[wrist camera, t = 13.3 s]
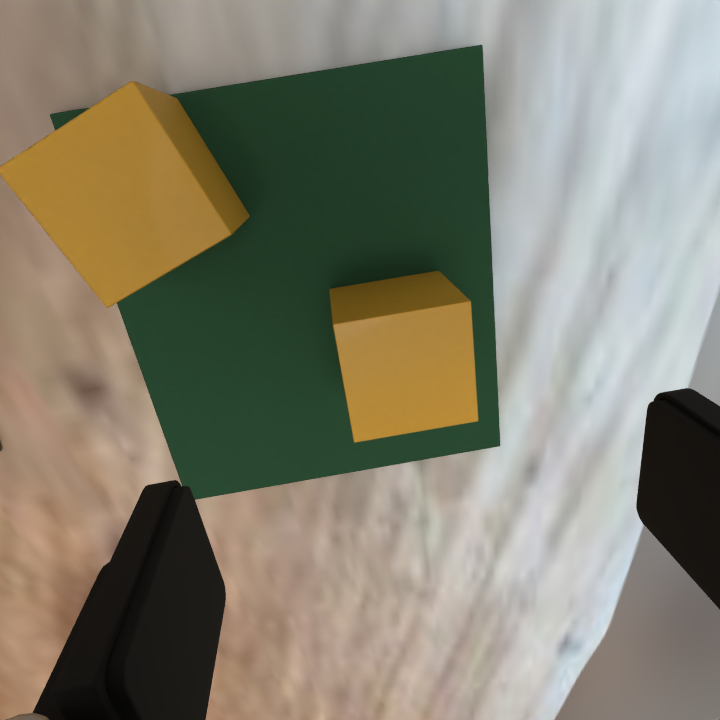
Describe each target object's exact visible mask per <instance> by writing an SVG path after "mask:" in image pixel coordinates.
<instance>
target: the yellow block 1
mask: <svg viewBox="0 0 720 720" xmlns="http://www.w3.org/2000/svg"><path fill="white" fill-rule="evenodd" d="M0 175H1V176H2V177H3V179H4V180H5V181H6V182H7V184H8V185H9V186H10V187H11V189H12V190H13V191H14V192H15V194H16V195H17V196H18V197H19V199H20V200H21V201H22V202H23V204H24V205H25V206H26V207H27V209H28V210H29V211H30V212H31V214H32V215H33V216H34V217H35V219H36V220H37V221H38V222H39V224H40V225H41V226H42V227H43V229H44V230H45V231H46V232H47V234H48V235H49V236H50V237H51V239H52V240H53V241H54V242H55V244H56V245H57V246H58V247H59V249H60V250H61V251H62V252H63V254H64V255H65V256H66V257H67V259H68V260H69V261H70V262H71V264H72V265H73V266H74V267H75V269H76V270H77V271H78V272H79V274H80V275H81V276H82V277H83V279H84V280H85V281H86V282H87V284H88V285H89V286H90V287H91V289H92V290H93V291H94V292H95V294H96V295H97V296H98V297H99V299H100V300H101V301H102V302H103V304H104V305H105V306H106V307H107V308H108V307H110V306H112V305H114V304H115V303H117V302H119V301H120V300H122V299H124V298H126V297H127V296H129V295H131V294H132V293H134V292H136V291H137V290H139V289H141V288H143V287H144V286H146V285H148V284H149V283H151V282H153V281H154V280H156V279H158V278H159V277H161V276H163V275H165V274H166V273H168V272H170V271H171V270H173V269H175V268H176V267H178V266H180V265H181V264H183V263H185V262H187V261H188V260H190V259H192V258H193V257H195V256H197V255H198V254H200V253H202V252H204V251H205V250H207V249H209V248H210V247H212V246H214V245H215V244H217V243H219V242H220V241H222V240H224V239H226V238H227V237H229V236H231V235H232V234H233V233H234V232H235V231H236V230H237V229H238V228H239V227H240V226H241V225H242V224H243V223H244V222H245V221H246V220H247V219H248V218H249V217H250V215H249V214H248V212H247V210H246V209H245V207H244V205H243V204H242V202H241V201H240V199H239V197H238V196H237V194H236V193H235V191H234V189H233V188H232V186H231V184H230V183H229V181H228V180H227V178H226V176H225V175H224V173H223V172H222V170H221V168H220V167H219V165H218V163H217V162H216V160H215V159H214V157H213V155H212V154H211V152H210V151H209V149H208V147H207V146H206V144H205V142H204V141H203V139H202V138H201V136H200V134H199V133H198V131H197V130H196V128H195V126H194V125H193V123H192V121H191V120H190V118H189V117H188V115H187V113H186V112H185V110H184V109H183V107H182V105H181V104H180V102H179V100H178V99H177V98H175V97H172V96H170V95H167V94H165V93H162V92H160V91H157V90H155V89H152V88H150V87H147V86H144V85H142V84H139V83H137V82H134V81H131V82H129V83H128V84H126V85H125V86H123V87H122V88H120V89H118V90H117V91H115V92H114V93H112V94H111V95H109V96H108V97H106V98H105V99H103V100H102V101H100V102H99V103H97V104H95V105H94V106H92V107H91V108H89V109H88V110H86V111H85V112H83V113H82V114H80V115H79V116H77V117H76V118H74V119H72V120H71V121H69V122H68V123H66V124H65V125H63V126H62V127H60V128H59V129H57V130H56V131H54V132H52V133H51V134H49V135H48V136H46V137H45V138H43V139H42V140H40V141H39V142H37V143H36V144H34V145H33V146H31V147H29V148H28V149H26V150H25V151H23V152H22V153H20V154H19V155H17V156H16V157H14V158H13V159H11V160H10V161H8V162H6V163H5V164H3V165H2V166H0Z"/></svg>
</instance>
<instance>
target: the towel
mask: <svg viewBox="0 0 720 720" xmlns="http://www.w3.org/2000/svg"><path fill="white" fill-rule="evenodd" d="M170 96H172V97H175V98H177V99H178V100H179V102H180V104H181V105H182V107H183V109H184V110H185V112H186V113H187V115H188V117H189V118H190V120H191V121H192V123H193V125H194V126H195V128H196V130H197V131H198V133H199V134H200V136H201V138H202V139H203V141H204V142H205V144H206V146H207V147H208V149H209V151H210V152H211V154H212V155H213V157H214V159H215V160H216V162H217V163H218V165H219V167H220V168H221V170H222V172H223V173H224V175H225V176H226V178H227V180H228V181H229V183H230V184H231V186H232V188H233V189H234V191H235V193H236V194H237V196H238V197H239V199H240V201H241V202H242V204H243V205H244V207H245V209H246V210H247V212H248V214H249V215H250V217H249V218H248V219H247V220H246V221H245V222H244V223H243V224H242V225H241V226H240V227H239V228H238V229H237V230H236V231H235V232H234V233H233V234H232V235H231V236H229V237H227V238H226V239H224V240H222V241H220V242H219V243H217V244H215V245H214V246H212V247H210V248H209V249H207V250H205V251H204V252H202V253H200V254H198V255H197V256H195V257H193V258H192V259H190V260H188V261H187V262H185V263H183V264H181V265H180V266H178V267H176V268H175V269H173V270H171V271H170V272H168V273H166V274H165V275H163V276H161V277H159V278H158V279H156V280H154V281H153V282H151V283H149V284H148V285H146V286H144V287H143V288H141V289H139V290H137V291H136V292H134V293H132V294H131V295H129V296H127V297H126V298H124V299H122V300H120V301H119V302H117V304H118V307H119V310H120V313H121V316H122V318H123V321H124V324H125V327H126V330H127V332H128V335H129V338H130V341H131V344H132V346H133V349H134V352H135V355H136V357H137V360H138V363H139V366H140V369H141V371H142V374H143V377H144V380H145V383H146V385H147V388H148V391H149V394H150V397H151V399H152V402H153V405H154V408H155V411H156V413H157V416H158V419H159V422H160V425H161V427H162V430H163V433H164V436H165V439H166V441H167V444H168V447H169V450H170V453H171V455H172V458H173V461H174V464H175V467H176V469H177V472H178V475H179V478H180V481H181V483H182V486H189V487H190V489H191V491H192V494H193V497H194V499H201V498H206V497H212V496H218V495H224V494H229V493H235V492H241V491H246V490H252V489H258V488H264V487H269V486H275V485H281V484H286V483H292V482H298V481H303V480H309V479H315V478H321V477H326V476H332V475H338V474H343V473H349V472H355V471H360V470H366V469H372V468H378V467H383V466H389V465H395V464H400V463H406V462H412V461H418V460H423V459H429V458H435V457H440V456H446V455H452V454H457V453H463V452H469V451H475V450H480V449H486V448H492V447H497V446H500V431H499V408H498V386H497V364H496V341H495V319H494V296H493V274H492V251H491V229H490V206H489V184H488V162H487V139H486V117H485V94H484V72H483V49H482V45H478V46H472V47H465V48H459V49H453V50H447V51H441V52H434V53H428V54H422V55H416V56H409V57H403V58H397V59H391V60H384V61H378V62H372V63H366V64H360V65H353V66H347V67H341V68H335V69H328V70H322V71H316V72H310V73H303V74H297V75H291V76H285V77H278V78H272V79H266V80H260V81H254V82H247V83H241V84H235V85H229V86H222V87H216V88H210V89H204V90H197V91H191V92H185V93H179V94H172V95H170ZM88 109H89V108H85V109H79V110H73V111H66V112H60V113H54V114H50V117H51V120H52V122H53V125H54V128H55V131H56V130H57V129H59V128H60V127H62V126H63V125H65V124H66V123H68V122H69V121H71V120H72V119H74V118H76V117H77V116H79V115H80V114H82V113H83V112H85V111H86V110H88ZM433 271H440V272H441V273H442V274H443V275H444V276H445V277H446V278H447V279H448V280H449V281H450V282H451V283H452V284H453V285H454V286H455V287H456V288H458V289H459V290H460V291H461V292H462V293H463V294H464V295H465V296H466V297H467V298H468V299H469V300H470V301H471V310H472V326H473V343H474V359H475V375H476V391H477V407H478V421H476V422H470V423H465V424H459V425H453V426H447V427H442V428H436V429H430V430H424V431H418V432H413V433H407V434H401V435H395V436H390V437H384V438H378V439H372V440H367V441H361V442H354V439H353V434H352V428H351V423H350V417H349V412H348V406H347V401H346V395H345V390H344V384H343V378H342V373H341V367H340V362H339V356H338V351H337V345H336V340H335V334H334V329H333V321H332V311H331V302H330V292H329V289H332V288H338V287H344V286H350V285H356V284H362V283H368V282H374V281H380V280H386V279H391V278H397V277H403V276H409V275H415V274H421V273H427V272H433Z"/></svg>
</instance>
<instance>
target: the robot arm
mask: <svg viewBox="0 0 720 720" xmlns="http://www.w3.org/2000/svg"><path fill="white" fill-rule="evenodd" d="M637 512H638V515H639V517H640V519H641V521H642V522H643V524H644V525H645V526H646V527H647V528H648V529H649V531H650V532H651V533H652V534H653V535H654V536H655V537H656V538H657V539H658V541H659V542H660V543H661V544H662V545H663V546H664V547H665V548H666V550H667V551H668V552H669V553H670V554H671V555H672V556H673V557H674V559H675V560H676V561H677V562H678V563H679V564H680V565H681V566H682V568H683V569H684V570H685V571H686V572H687V573H688V574H689V575H690V577H691V578H692V579H693V580H694V581H695V582H696V583H697V584H698V586H699V587H700V588H701V589H702V590H703V591H704V592H705V593H706V594H707V596H708V597H709V598H710V599H711V600H712V601H713V602H714V603H715V604H716V606H717V607H718V608H719V609H720V406H718V405H717V404H715V403H714V402H712V401H710V400H709V399H707V398H706V397H704V396H703V395H701V394H699V393H698V392H696V391H694V390H692V389H689V388H685V389H680V390H674V391H669V392H663V393H659V394H658V395H656V397H655V398H654V402H651V403H650V404H649V405H648V408H647V416H646V425H645V433H644V442H643V451H642V460H641V469H640V478H639V486H638V495H637ZM225 600H226V593H225V585H224V581H223V579H222V576H221V573H220V570H219V567H218V564H217V562H216V559H215V556H214V553H213V550H212V547H211V545H210V542H209V539H208V536H207V533H206V530H205V528H204V525H203V522H202V519H201V516H200V514H199V511H198V508H197V505H196V502H195V499H194V497H193V494H192V491H191V489H190V487H189V486H182V487H181V485H180V483H179V482H178V481H176V480H174V481H168V482H162V483H157V484H151V485H147V486H145V488H144V489H143V491H142V493H141V495H140V498H139V500H138V502H137V504H136V506H135V508H134V511H133V513H132V515H131V517H130V519H129V521H128V524H127V526H126V528H125V530H124V532H123V534H122V537H121V539H120V541H119V543H118V545H117V547H116V550H115V552H114V554H113V556H112V558H111V560H110V562H109V563H107V564H106V565H105V566H103V568H102V569H101V571H100V573H99V574H98V576H97V578H96V581H95V583H94V585H93V587H92V589H91V591H90V593H89V595H88V597H87V600H86V602H85V604H84V606H83V608H82V610H81V612H80V614H79V616H78V618H77V621H76V623H75V625H74V627H73V629H72V631H71V633H70V635H69V637H68V640H67V642H66V644H65V646H64V648H63V650H62V652H61V654H60V656H59V659H58V661H57V663H56V665H55V667H54V669H53V671H52V673H51V675H50V678H49V680H48V682H47V684H46V686H45V688H44V690H43V692H42V694H41V696H40V699H39V701H38V703H37V705H36V707H35V709H34V711H33V713H30V714H21V715H17V716H14V717H12V718H9V719H7V720H205V719H206V713H207V707H208V701H209V695H210V690H211V684H212V678H213V672H214V666H215V660H216V654H217V648H218V642H219V637H220V631H221V625H222V619H223V613H224V607H225ZM714 720H720V718H719V719H714Z"/></svg>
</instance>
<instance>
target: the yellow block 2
mask: <svg viewBox="0 0 720 720" xmlns="http://www.w3.org/2000/svg"><path fill="white" fill-rule="evenodd" d="M329 292H330V302H331V311H332V321H333V329H334V334H335V340H336V345H337V351H338V356H339V362H340V367H341V373H342V378H343V384H344V390H345V395H346V401H347V406H348V412H349V417H350V423H351V428H352V434H353V439H354V442H361V441H367V440H372V439H378V438H384V437H390V436H395V435H401V434H407V433H413V432H418V431H424V430H430V429H436V428H442V427H447V426H453V425H459V424H465V423H470V422H476V421H478V407H477V391H476V375H475V359H474V343H473V326H472V310H471V301H470V300H469V299H468V298H467V297H466V296H465V295H464V294H463V293H462V292H461V291H460V290H459V289H458V288H456V287H455V286H454V285H453V284H452V283H451V282H450V281H449V280H448V279H447V278H446V277H445V276H444V275H443V274H442V273H441V272H440V271H433V272H427V273H421V274H415V275H409V276H403V277H397V278H391V279H386V280H380V281H374V282H368V283H362V284H356V285H350V286H344V287H338V288H332V289H329Z"/></svg>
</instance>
